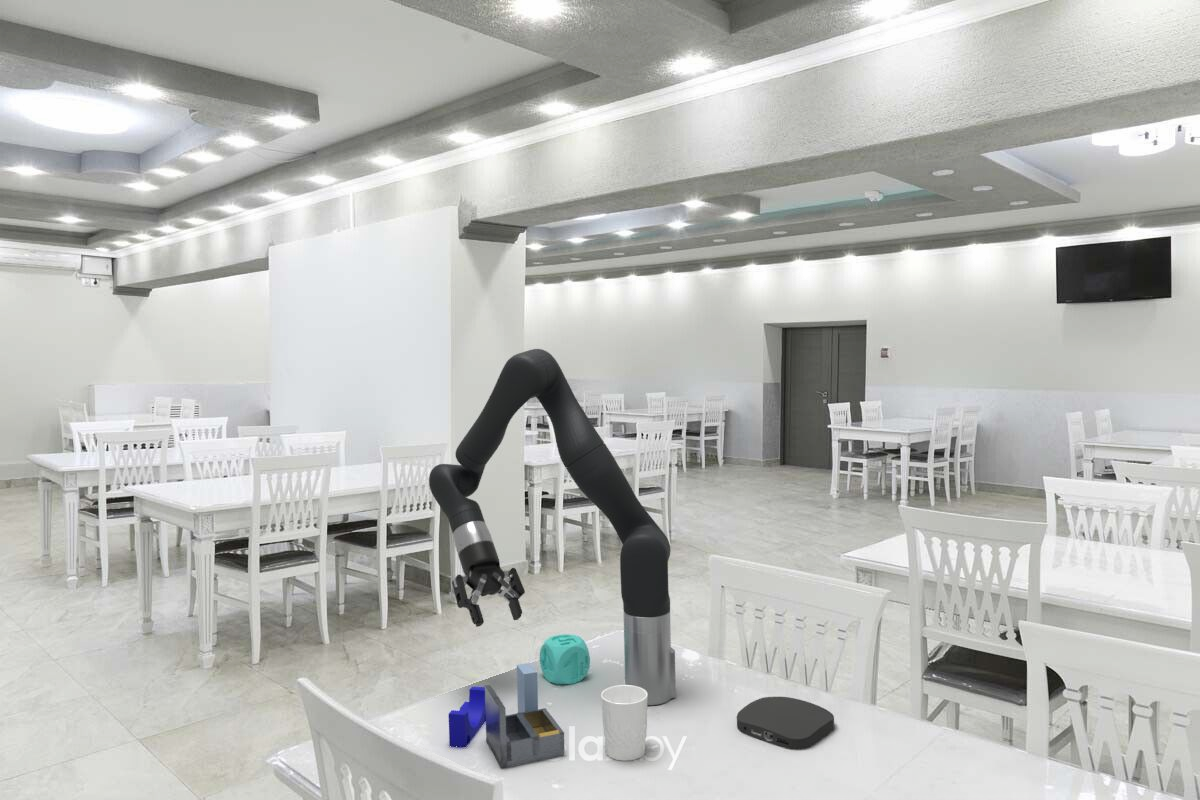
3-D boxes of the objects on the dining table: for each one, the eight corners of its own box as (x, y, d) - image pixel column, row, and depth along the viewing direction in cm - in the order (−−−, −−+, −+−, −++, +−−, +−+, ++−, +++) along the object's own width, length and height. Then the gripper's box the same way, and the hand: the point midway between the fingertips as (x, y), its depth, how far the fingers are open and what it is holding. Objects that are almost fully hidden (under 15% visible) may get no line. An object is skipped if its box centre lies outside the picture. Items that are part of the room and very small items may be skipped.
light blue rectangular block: (530, 714, 153) (529, 662, 152) (538, 725, 148) (537, 672, 147) (517, 717, 152) (516, 664, 151) (525, 728, 147) (523, 674, 147)
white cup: (654, 744, 140) (652, 687, 139) (641, 766, 132) (640, 706, 132) (610, 738, 142) (609, 682, 142) (596, 759, 135) (594, 700, 134)
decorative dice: (556, 688, 165) (556, 649, 164) (539, 675, 172) (538, 638, 171) (590, 679, 169) (590, 642, 168) (572, 667, 176) (571, 631, 175)
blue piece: (465, 717, 152) (464, 685, 152) (488, 718, 152) (487, 687, 151) (441, 747, 141) (440, 713, 140) (465, 748, 140) (464, 714, 140)
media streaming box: (842, 726, 146) (841, 710, 146) (801, 756, 135) (801, 739, 135) (771, 704, 156) (771, 689, 156) (728, 730, 145) (728, 714, 145)
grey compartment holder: (546, 729, 146) (544, 675, 146) (564, 755, 136) (563, 697, 136) (486, 741, 142) (484, 685, 142) (501, 768, 132) (499, 709, 132)
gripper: (451, 542, 159) (475, 618, 151) (513, 536, 168) (538, 608, 160) (437, 560, 164) (459, 635, 156) (497, 553, 173) (521, 624, 165)
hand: (499, 621), depth 158 cm, fingers open, 8 cm apart
